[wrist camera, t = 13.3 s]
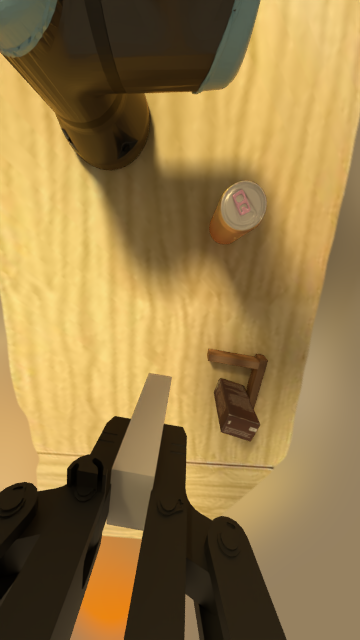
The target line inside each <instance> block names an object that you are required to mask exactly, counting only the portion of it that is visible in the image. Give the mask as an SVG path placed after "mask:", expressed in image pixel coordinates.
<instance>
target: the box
mask: <svg viewBox="0 0 360 640" xmlns="http://www.w3.org/2000/svg"><path fill="white" fill-rule="evenodd" d="M214 396H215V401H216V407H217V413H218V418H219V424H220V429H221V432H222V433H226V434H229V435H232V436H235V437H238V438H241V439H245V440H248V441H251V440H252V438H253V437H254V435H255V433H256V431H257V429H258V428H259V426H260V423H259V421H258V418H257V416H256V414H255V411H254V409H253V407H252V404H251V402H250V400H249V397H248V395H247V393H246V390H245V388H244V386H243V385H240V384H237V383H234V382H231V381H228V380H225V379H222V378H220V380H219V382H218V384H217V386H216V389H215V391H214Z"/></svg>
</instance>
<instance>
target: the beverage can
mask: <svg viewBox="0 0 360 640" xmlns="http://www.w3.org/2000/svg"><path fill="white" fill-rule="evenodd" d="M266 207H267V200H266V196H265V193H264V191H263V189H262V188H261V187H260V186H259V185H258V184H256V183H254V182H252V181H239V182H237V183H235V184H233V185H232V186H230V187H229V188H228V189H227V190H226V191H225V192H224V193H223V195H222V196H221V198H220V201H219V203H218V205H217V208H216V210H215V212H214V215H213V217H212V220H211V222H210V226H209V230H210V234H211V237H212V238H213V239H214V240H215V241H216V242H217V243H219V244H229V243H232V242H233V241H235V240H237V239H238V238H240V237H242V236H243V235H245V234H246V233H248V232H250V231H251V230H253V229H254V228H255V227H257V225H258V224H259V223H260V222H261V220H262V218H263V216H264V214H265V212H266Z"/></svg>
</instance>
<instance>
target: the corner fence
mask: <svg viewBox="0 0 360 640" xmlns="http://www.w3.org/2000/svg"><path fill="white" fill-rule="evenodd" d="M207 357H208V361H213V362H218V363H224V364H230V365H236V366H241V367H247V368H252V371H251V375H250V378H249V382H248V386H247V389H246V393H247V395H248V397H249V400H250V402H251V404H252V407H253V409H254V406H255V403H256V400H257V396H258V393H259V389H260V386H261V383H262V379H263V376H264V372H265V369H266V366H267V362H268V360H267V359H266V358H265V357H264V355H261V354H256V357H253V356H248V355H242V354H236V353H230V352H225V351H219V350H213V349H208V353H207Z"/></svg>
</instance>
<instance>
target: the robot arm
mask: <svg viewBox="0 0 360 640" xmlns="http://www.w3.org/2000/svg"><path fill="white" fill-rule="evenodd" d="M259 4H260V0H0V53H1V54H2V55H3V56H4V57H5V58H6V59H7V60H8V61H9V62H10V64H11V65H12V66H13V67H14V68H15V69H16V70H17V71H18V72H19V73H20V74H21V76H22V77H23V78H24V79H25V80H26V81H27V82H28V83H29V84H30V85H31V87H32V88H33V89H34V90H35V91H36V92H37V93H38V94H39V95H40V96H41V98H42V99H43V100H44V101H45V102H46V103H47V104H48V105H49V106H50V107H51V109H52V110H53V111H54V112H55V114H56V117H57V119H58V121H59V124H60V126H61V128H62V131H63V133H64V135H65V137H66V139H67V141H68V142H69V144H70V145H71V147H72V148H73V149H74V150H75V151H76V152H77V153H78V154H79V155H80V156H81V157H82V158H83V159H84V160H85V161H86V162H88V163H89V164H91V165H92V166H94V167H97V168H100V169H104V170H115V169H119V168H122V167H125V166H127V165H128V164H130V163H131V162H132V161H134V160H135V159H136V158H137V156H138V155H139V154H140V153H141V151H142V149H143V147H144V145H145V143H146V140H147V137H148V133H149V126H150V116H149V109H148V104H147V101H146V97H145V94H144V93H164V92H192V94H198V93H201V92H202V91H210V90H220V89H223V88H225V87H226V86H227V85H228V84H229V83H231V82H232V81H233V79H234V78H235V76H236V75H237V73H238V71H239V69H240V67H241V64H242V62H243V59H244V56H245V53H246V51H247V48H248V44H249V41H250V38H251V34H252V31H253V27H254V24H255V20H256V16H257V12H258V8H259ZM171 379H172V377H170V376H164V375H158V374H152V373H149V374H148V377H147V379H146V382H145V385H144V387H143V390H142V392H141V395H140V397H139V400H138V403H137V405H136V408H135V410H134V413H133V416H132V418H131V419H129V418H123V417H117V416H114V417H113V418H112V419H111V420H110V421H109V422H107V424H106V426H105V428H104V429H103V431H102V433H101V435H100V437H99V439H98V441H97V443H96V445H95V446H94V448H93V450H92V452H91V454H90V455H85V456H82V457H80V458H78V459H77V460H75V461H74V462H72V464H71V465H70V466H69V467H68V468H67V484H66V485H64V486H62V487H59V488H55V489H49V490H43V491H38V492H37V488H36V487H35V486H34V485H33V484H32V483H27V482H22V483H16V484H14V485H11V486H9V487H7V488H5V489H4V490H3V491H1V492H0V640H70V637H71V634H72V631H73V628H74V625H75V622H76V619H77V615H78V613H79V610H80V606H81V603H82V600H83V597H84V594H85V591H86V588H87V584H88V581H89V578H90V575H91V572H92V569H93V566H94V563H95V560H96V557H97V554H98V550H99V547H100V544H101V538H102V531H103V528H104V525H105V522H106V519H107V524H109V525H115V526H120V527H126V528H131V529H137V530H143V537H142V542H141V548H140V553H139V559H138V564H137V570H136V575H135V581H134V587H133V592H132V597H131V603H130V609H129V614H128V620H127V625H126V630H125V636H124V640H184V631H185V629H184V627H185V594H186V595H188V596H189V597H190V598H192V599H193V600H194V606H195V612H196V619H197V625H198V631H199V638H200V640H286V637H285V634H284V632H283V629H282V626H281V624H280V622H279V619H278V616H277V613H276V611H275V608H274V605H273V603H272V600H271V598H270V595H269V592H268V590H267V587H266V585H265V582H264V580H263V577H262V574H261V572H260V569H259V566H258V564H257V561H256V558H255V556H254V553H253V550H252V548H251V545H250V543H249V540H248V538H247V536H246V534H245V532H244V530H243V529H242V527H241V526H240V525H239V524H238V523H237V522H236V521H234V520H232V519H230V518H229V517H224V516H220V517H217V518H215V519H214V520H213V521H212V520H211V519H209V518H207V517H206V516H204V515H202V514H201V513H199V512H198V511H197V510H195V509H194V507H193V506H192V505H191V504H190V502H189V500H188V498H187V495H186V489H185V481H186V444H187V436H186V433H185V431H184V429H183V427H179V426H173V425H167V424H164V420H165V415H166V409H167V403H168V397H169V391H170V385H171Z"/></svg>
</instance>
